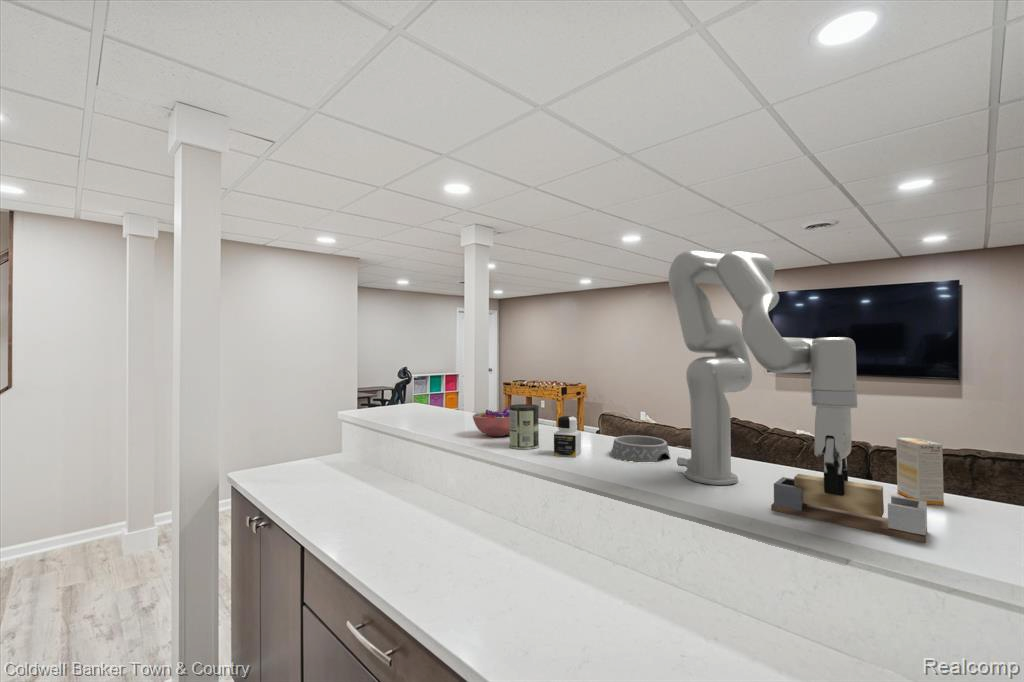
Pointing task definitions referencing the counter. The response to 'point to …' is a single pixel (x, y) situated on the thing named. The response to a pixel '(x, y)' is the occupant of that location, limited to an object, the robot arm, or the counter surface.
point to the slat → (853, 500)
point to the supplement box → (920, 470)
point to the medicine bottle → (567, 437)
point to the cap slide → (907, 515)
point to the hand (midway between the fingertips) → (836, 490)
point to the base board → (851, 520)
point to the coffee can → (524, 426)
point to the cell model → (493, 422)
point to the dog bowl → (639, 448)
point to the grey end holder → (788, 494)
